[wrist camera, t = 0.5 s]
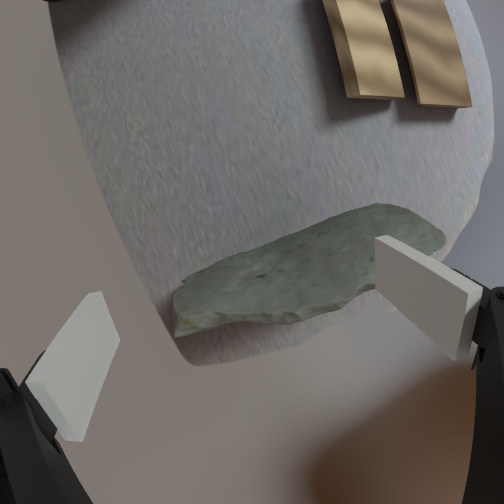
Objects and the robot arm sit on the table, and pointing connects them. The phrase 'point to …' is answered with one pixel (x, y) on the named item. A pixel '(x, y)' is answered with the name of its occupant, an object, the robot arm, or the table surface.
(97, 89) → the table surface
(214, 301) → the rock
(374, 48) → the plank
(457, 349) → the robot arm
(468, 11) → the table surface
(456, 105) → the board
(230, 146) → the table surface
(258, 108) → the table surface
